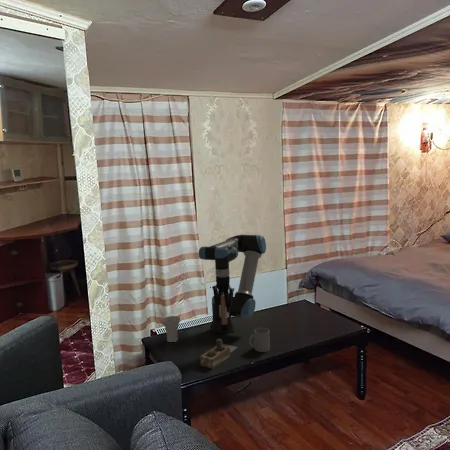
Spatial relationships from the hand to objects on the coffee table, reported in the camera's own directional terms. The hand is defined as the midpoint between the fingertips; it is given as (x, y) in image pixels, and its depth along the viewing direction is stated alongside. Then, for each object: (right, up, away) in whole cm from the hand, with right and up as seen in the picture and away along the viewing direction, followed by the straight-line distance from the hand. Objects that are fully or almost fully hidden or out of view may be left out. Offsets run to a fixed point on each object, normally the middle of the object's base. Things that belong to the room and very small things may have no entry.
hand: (224, 316), depth 229 cm
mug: (+19, -19, +1) cm, 27 cm away
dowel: (0, -4, +1) cm, 4 cm away
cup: (-31, -18, +17) cm, 40 cm away
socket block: (-5, -21, -11) cm, 24 cm away
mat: (+1, -19, +3) cm, 19 cm away
